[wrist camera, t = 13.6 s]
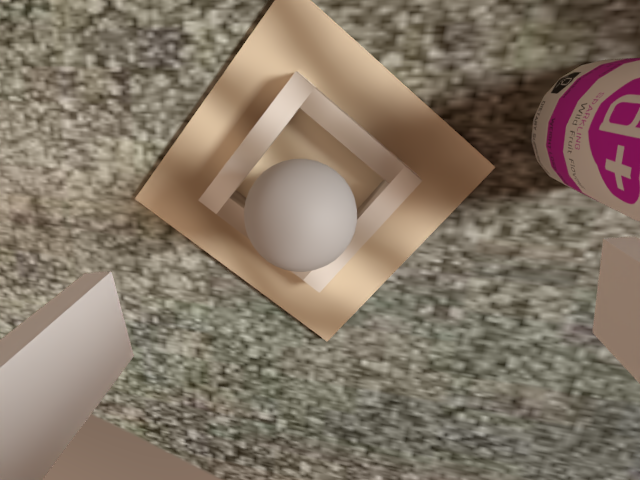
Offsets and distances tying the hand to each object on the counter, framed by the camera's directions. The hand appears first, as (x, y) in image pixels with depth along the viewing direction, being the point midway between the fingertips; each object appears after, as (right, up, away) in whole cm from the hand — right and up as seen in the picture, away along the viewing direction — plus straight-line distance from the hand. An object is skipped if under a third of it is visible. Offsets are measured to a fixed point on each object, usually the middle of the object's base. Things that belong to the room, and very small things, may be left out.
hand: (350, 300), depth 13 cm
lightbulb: (-2, +6, +21) cm, 21 cm away
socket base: (-1, +6, +21) cm, 22 cm away
